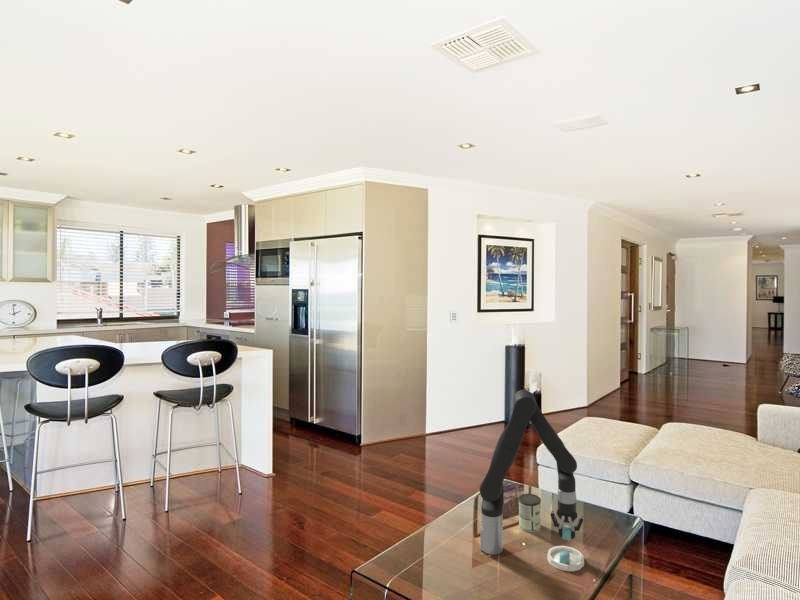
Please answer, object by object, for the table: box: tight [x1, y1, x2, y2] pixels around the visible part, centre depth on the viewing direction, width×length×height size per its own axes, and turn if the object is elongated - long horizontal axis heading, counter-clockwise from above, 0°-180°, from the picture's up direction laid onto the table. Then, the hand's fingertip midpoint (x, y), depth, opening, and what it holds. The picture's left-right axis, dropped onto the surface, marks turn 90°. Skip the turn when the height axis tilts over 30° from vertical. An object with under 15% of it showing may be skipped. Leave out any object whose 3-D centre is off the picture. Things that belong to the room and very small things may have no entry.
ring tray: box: [546, 545, 585, 572], centre depth 222 cm, size 15×15×2 cm
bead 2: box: [560, 551, 570, 565], centre depth 218 cm, size 4×4×4 cm
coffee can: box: [518, 493, 542, 533], centre depth 249 cm, size 10×10×14 cm
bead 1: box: [561, 525, 572, 541], centre depth 224 cm, size 4×4×4 cm
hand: (567, 537), depth 224 cm, fingers closed on bead 1, 4 cm apart
